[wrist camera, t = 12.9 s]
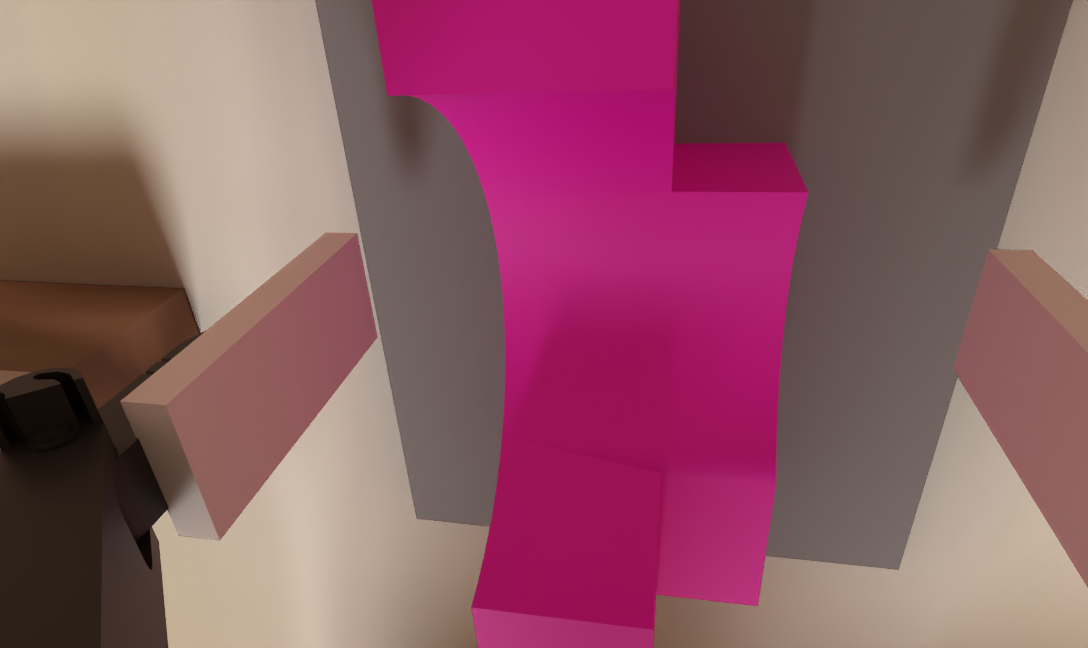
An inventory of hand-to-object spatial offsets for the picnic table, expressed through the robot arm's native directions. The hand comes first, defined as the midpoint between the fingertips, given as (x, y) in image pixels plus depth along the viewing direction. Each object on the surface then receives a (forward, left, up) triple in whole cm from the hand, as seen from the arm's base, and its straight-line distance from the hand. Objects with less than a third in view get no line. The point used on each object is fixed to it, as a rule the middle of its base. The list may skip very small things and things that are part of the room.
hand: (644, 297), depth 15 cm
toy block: (0, 0, -3) cm, 3 cm away
